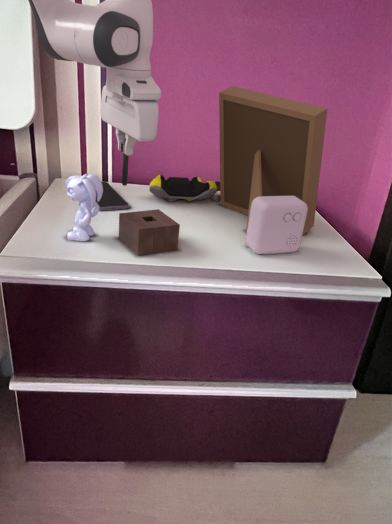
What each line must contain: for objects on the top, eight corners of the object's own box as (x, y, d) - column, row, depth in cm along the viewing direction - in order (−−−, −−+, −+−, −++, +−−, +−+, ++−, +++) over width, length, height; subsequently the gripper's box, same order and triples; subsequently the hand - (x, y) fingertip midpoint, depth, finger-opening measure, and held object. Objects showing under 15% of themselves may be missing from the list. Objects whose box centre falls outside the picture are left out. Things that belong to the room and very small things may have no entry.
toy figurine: (72, 227, 108) (71, 164, 101) (104, 232, 107) (105, 169, 101) (59, 240, 102) (57, 174, 95) (93, 246, 101) (93, 180, 95)
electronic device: (255, 257, 105) (264, 205, 99) (244, 247, 108) (252, 196, 103) (301, 254, 108) (312, 203, 103) (289, 244, 112) (299, 195, 107)
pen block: (137, 256, 100) (139, 229, 97) (118, 238, 106) (119, 213, 103) (177, 250, 104) (179, 224, 101) (156, 233, 110) (158, 209, 107)
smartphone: (97, 207, 116) (75, 182, 127) (97, 212, 117) (75, 187, 127) (130, 205, 119) (106, 181, 130) (129, 210, 120) (106, 185, 130)
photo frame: (231, 201, 131) (247, 84, 117) (312, 230, 120) (341, 106, 107) (191, 214, 121) (204, 88, 107) (276, 247, 110) (302, 112, 96)
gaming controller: (216, 208, 126) (207, 193, 134) (219, 183, 123) (210, 170, 131) (150, 205, 123) (144, 190, 131) (151, 180, 120) (146, 167, 128)
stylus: (123, 186, 124) (125, 119, 116) (120, 184, 125) (123, 118, 117) (128, 186, 125) (131, 119, 117) (125, 184, 126) (128, 118, 118)
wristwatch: (233, 181, 132) (213, 175, 133) (223, 194, 128) (203, 188, 129) (231, 194, 134) (212, 188, 135) (222, 207, 130) (202, 201, 132)
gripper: (93, 73, 119) (92, 140, 127) (136, 92, 105) (132, 166, 112) (120, 74, 122) (118, 140, 130) (165, 92, 108) (160, 165, 116)
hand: (125, 152), depth 121 cm, fingers closed on stylus, 1 cm apart
